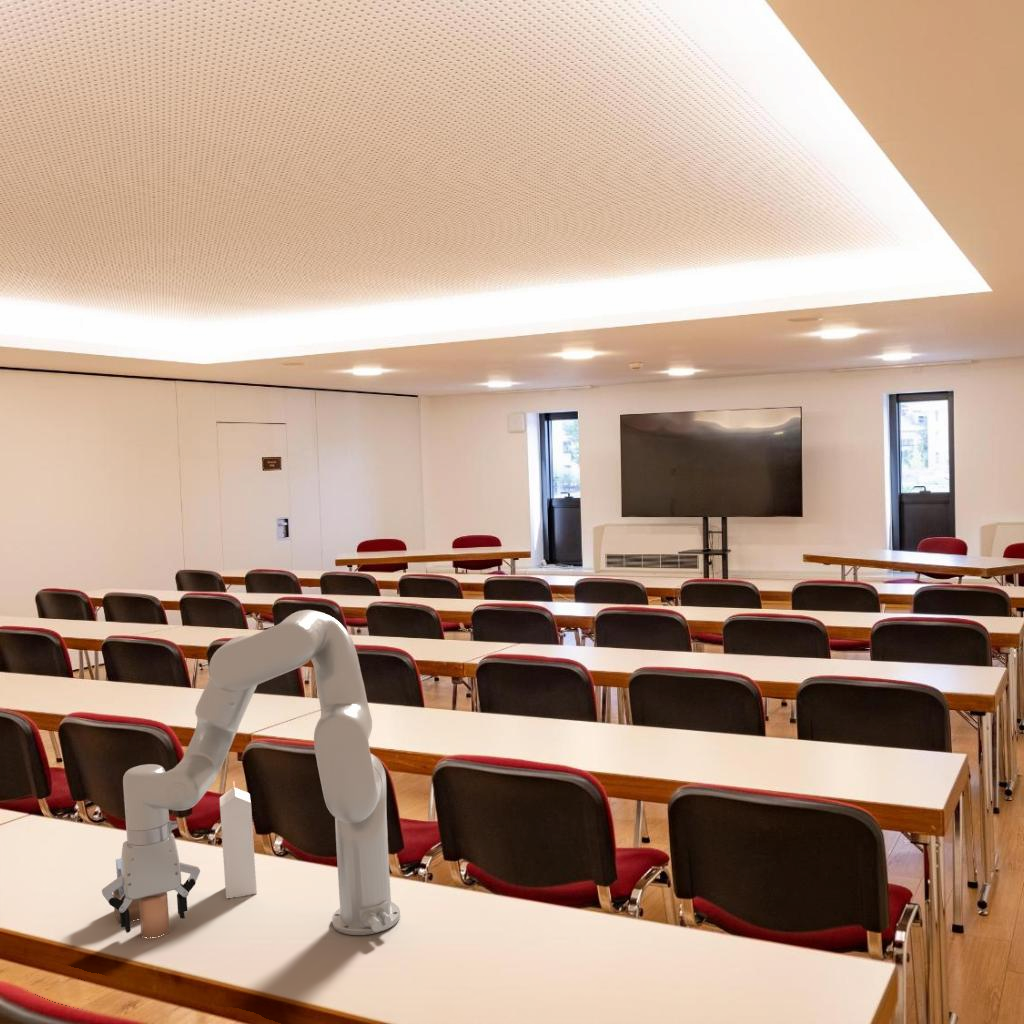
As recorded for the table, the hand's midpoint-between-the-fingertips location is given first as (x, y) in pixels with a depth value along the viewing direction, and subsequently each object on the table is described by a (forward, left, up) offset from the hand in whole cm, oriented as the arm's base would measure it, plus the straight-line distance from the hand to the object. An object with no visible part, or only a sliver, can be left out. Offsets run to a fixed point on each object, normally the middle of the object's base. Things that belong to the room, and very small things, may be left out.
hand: (154, 922), depth 186 cm
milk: (+9, -18, -2) cm, 20 cm away
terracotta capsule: (0, 0, -2) cm, 2 cm away
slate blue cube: (+11, +2, +3) cm, 11 cm away
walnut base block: (+11, +2, -2) cm, 11 cm away
